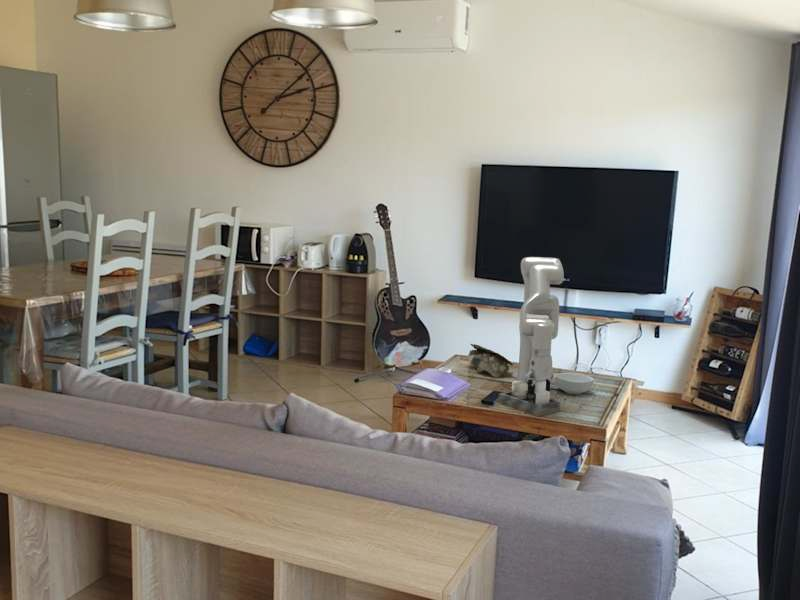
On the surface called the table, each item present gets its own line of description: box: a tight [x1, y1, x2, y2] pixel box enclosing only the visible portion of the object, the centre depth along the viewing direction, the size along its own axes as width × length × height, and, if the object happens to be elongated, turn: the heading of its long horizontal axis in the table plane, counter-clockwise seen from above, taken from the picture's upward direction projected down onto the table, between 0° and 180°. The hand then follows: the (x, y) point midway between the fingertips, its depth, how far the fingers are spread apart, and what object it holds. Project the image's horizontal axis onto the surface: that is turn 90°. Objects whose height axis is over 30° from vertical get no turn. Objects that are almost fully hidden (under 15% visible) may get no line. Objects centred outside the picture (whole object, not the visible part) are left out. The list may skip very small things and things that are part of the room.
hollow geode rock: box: [467, 343, 514, 379], centre depth 392 cm, size 28×13×15 cm
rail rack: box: [498, 380, 562, 417], centre depth 336 cm, size 22×13×9 cm, turn 40°
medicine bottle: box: [526, 380, 551, 405], centre depth 332 cm, size 7×7×12 cm
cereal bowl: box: [554, 372, 594, 395], centre depth 361 cm, size 17×17×7 cm
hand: (538, 392), depth 332 cm, fingers open, 9 cm apart
